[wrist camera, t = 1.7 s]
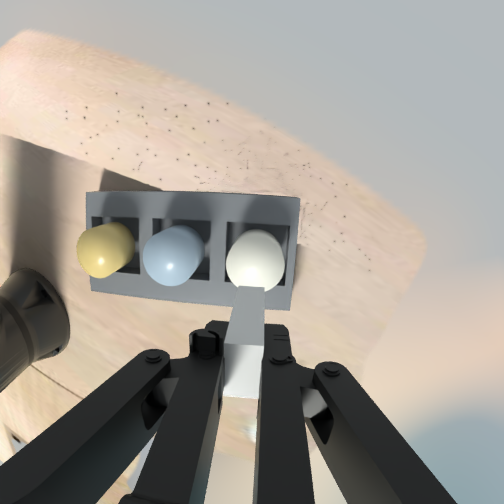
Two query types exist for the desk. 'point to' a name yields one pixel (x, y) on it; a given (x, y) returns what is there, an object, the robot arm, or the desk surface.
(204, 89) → the desk surface
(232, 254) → the ivory button
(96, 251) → the ochre button
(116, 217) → the grey compartment tray
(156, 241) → the light blue rounded dome
